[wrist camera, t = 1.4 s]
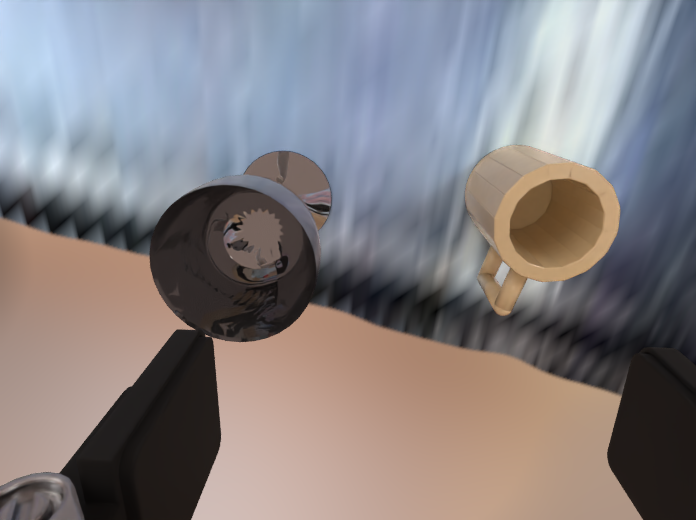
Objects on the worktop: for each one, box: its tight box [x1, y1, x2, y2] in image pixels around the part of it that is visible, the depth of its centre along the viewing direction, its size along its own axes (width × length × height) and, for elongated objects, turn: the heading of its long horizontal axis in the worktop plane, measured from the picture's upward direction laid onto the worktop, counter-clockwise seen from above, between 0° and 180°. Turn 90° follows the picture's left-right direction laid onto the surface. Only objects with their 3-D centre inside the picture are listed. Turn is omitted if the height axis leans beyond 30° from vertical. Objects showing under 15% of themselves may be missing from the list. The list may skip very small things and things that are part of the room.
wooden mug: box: [465, 145, 620, 316], centre depth 32 cm, size 10×7×9 cm
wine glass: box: [150, 151, 332, 342], centre depth 30 cm, size 8×8×15 cm
